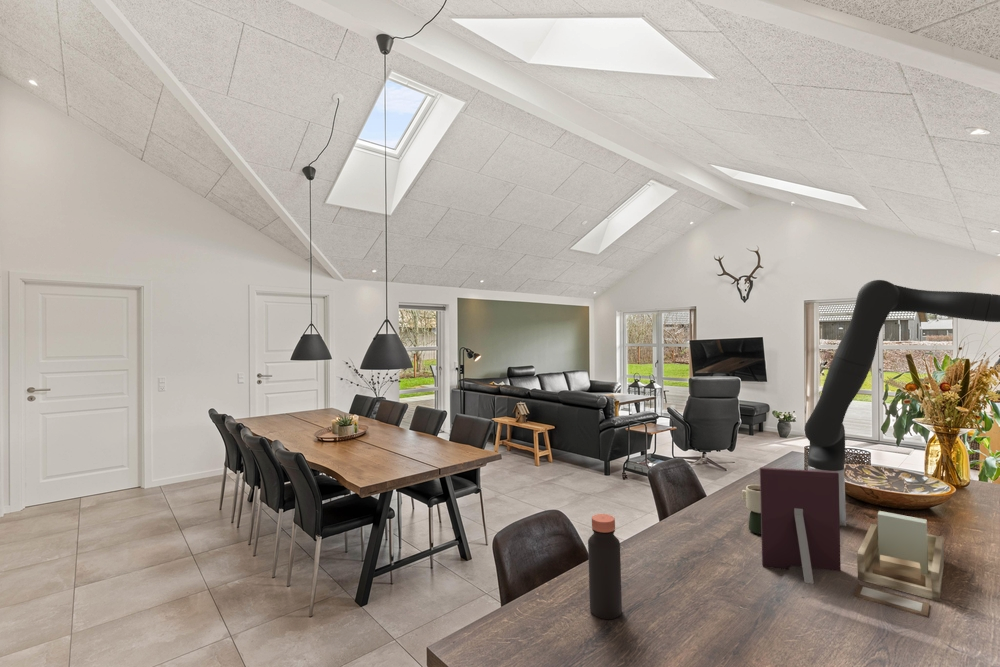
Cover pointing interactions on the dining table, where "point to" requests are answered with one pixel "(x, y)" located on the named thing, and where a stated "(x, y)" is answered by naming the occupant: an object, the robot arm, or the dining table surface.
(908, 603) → the board
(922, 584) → the offcut lower
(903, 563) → the offcut upper
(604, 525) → the bottle
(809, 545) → the picture frame
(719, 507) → the dining table surface
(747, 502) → the character mug
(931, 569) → the tray
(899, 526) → the pale green slanted prism
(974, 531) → the dining table surface
